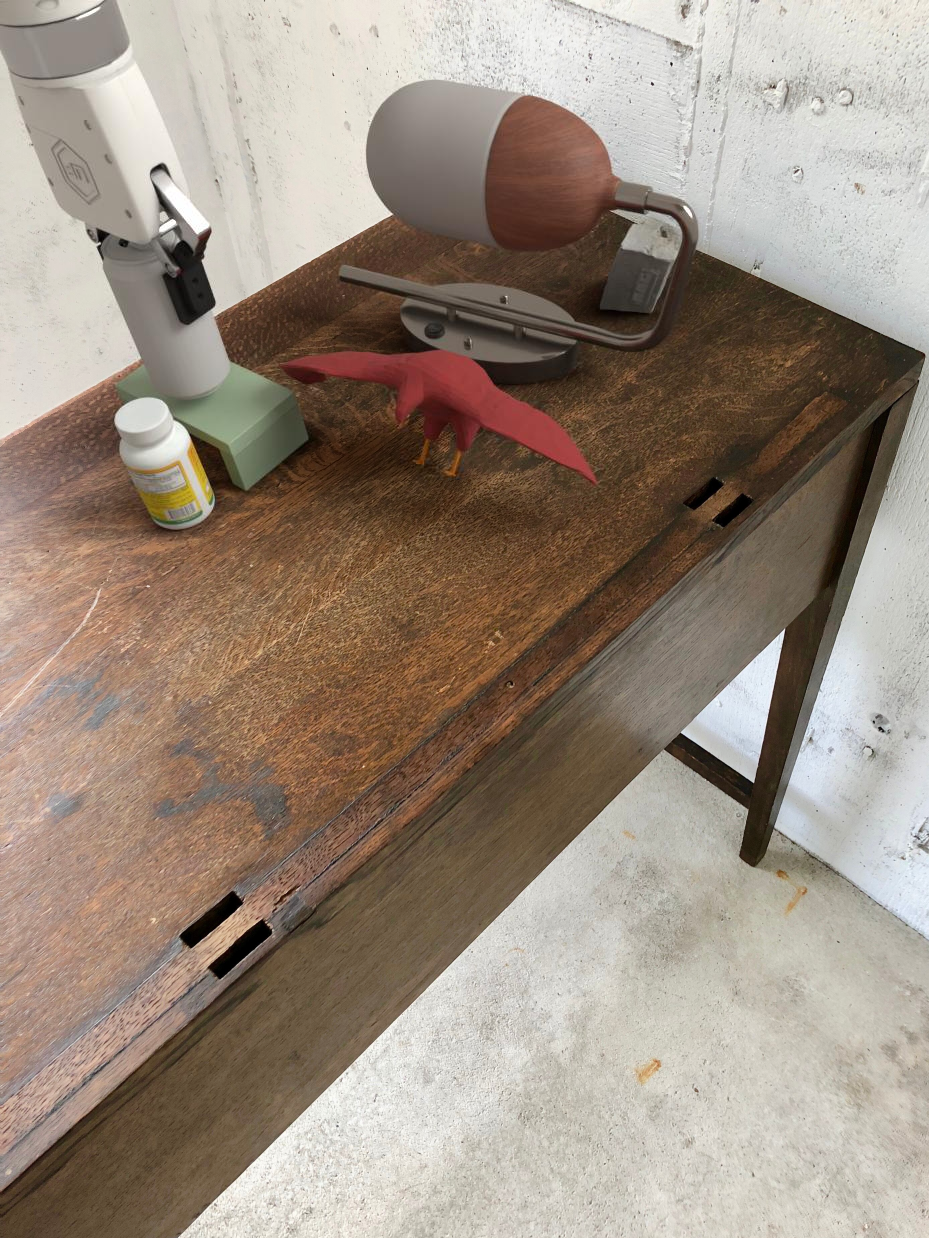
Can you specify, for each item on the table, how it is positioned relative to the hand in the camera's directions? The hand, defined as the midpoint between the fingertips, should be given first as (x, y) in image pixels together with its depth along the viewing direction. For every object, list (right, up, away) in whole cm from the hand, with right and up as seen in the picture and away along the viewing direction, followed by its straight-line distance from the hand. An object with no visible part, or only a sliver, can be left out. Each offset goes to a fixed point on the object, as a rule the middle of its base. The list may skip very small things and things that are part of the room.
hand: (166, 298), depth 72 cm
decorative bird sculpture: (+22, -10, +8) cm, 25 cm away
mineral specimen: (+39, +6, +18) cm, 43 cm away
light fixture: (+26, +1, +16) cm, 30 cm away
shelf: (+1, -8, +11) cm, 13 cm away
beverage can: (0, -5, +6) cm, 7 cm away
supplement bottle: (-1, -15, +6) cm, 16 cm away
